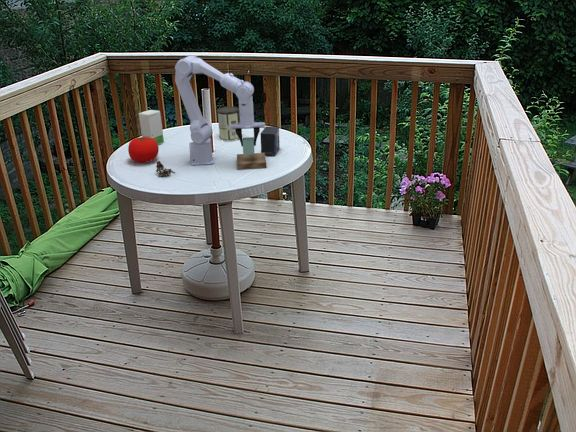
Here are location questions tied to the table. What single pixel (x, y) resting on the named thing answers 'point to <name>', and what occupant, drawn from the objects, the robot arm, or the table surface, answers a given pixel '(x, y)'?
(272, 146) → the small box
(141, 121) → the skincare box
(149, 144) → the tomato
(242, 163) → the walnut slab
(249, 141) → the teal block
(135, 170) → the table surface
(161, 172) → the gnarled brown figurine
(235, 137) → the coffee can
